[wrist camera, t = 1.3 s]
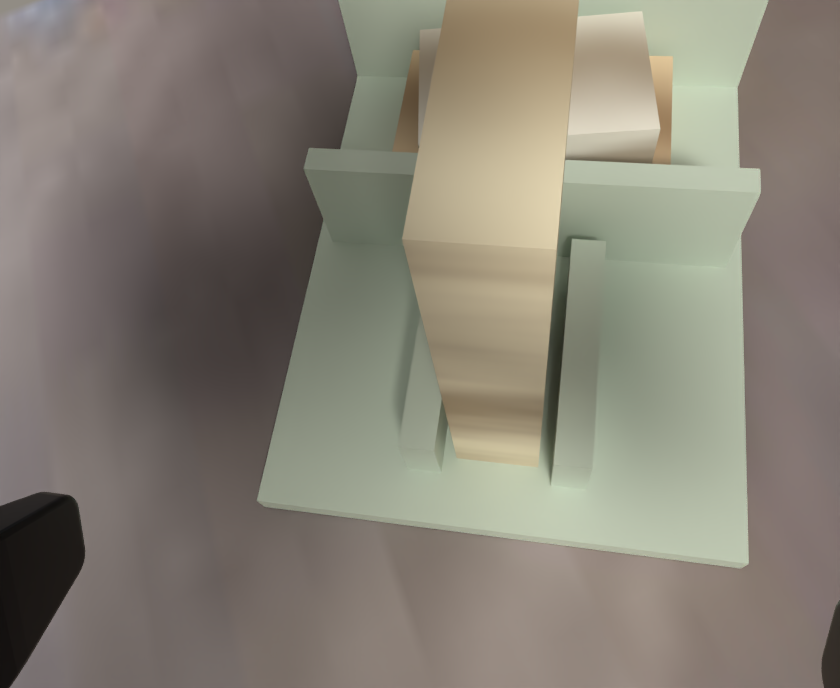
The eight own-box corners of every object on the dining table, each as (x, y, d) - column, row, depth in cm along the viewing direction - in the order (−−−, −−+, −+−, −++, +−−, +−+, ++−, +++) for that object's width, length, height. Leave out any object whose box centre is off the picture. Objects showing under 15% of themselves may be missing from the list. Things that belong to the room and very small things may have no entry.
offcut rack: (740, 568, 21) (829, 514, 15) (264, 506, 24) (176, 438, 18) (731, 86, 28) (789, -83, 22) (364, 75, 31) (327, -81, 25)
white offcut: (650, 167, 24) (660, 128, 23) (424, 181, 25) (418, 145, 23) (634, 53, 26) (642, 10, 25) (425, 70, 27) (419, 29, 25)
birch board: (537, 467, 22) (556, 249, 12) (456, 458, 23) (402, 239, 12) (554, 288, 25) (582, -30, 14) (480, 282, 25) (452, -31, 14)
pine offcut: (660, 224, 25) (670, 192, 24) (394, 208, 27) (386, 177, 25) (664, 94, 28) (672, 56, 26) (418, 86, 29) (412, 50, 28)
